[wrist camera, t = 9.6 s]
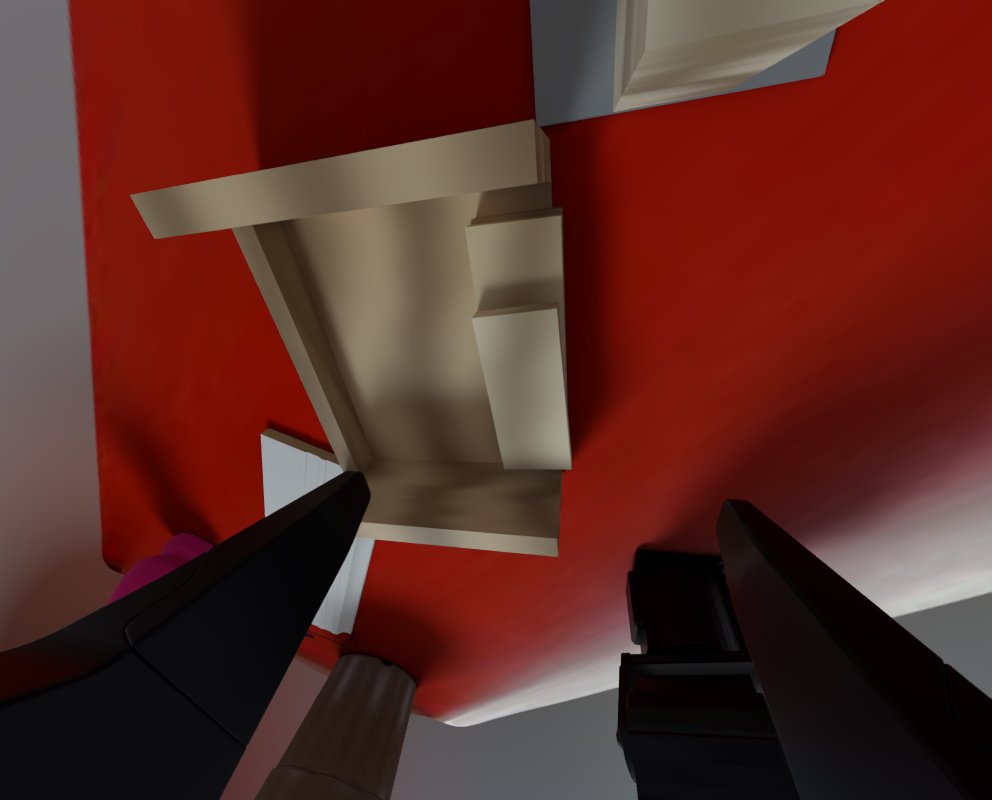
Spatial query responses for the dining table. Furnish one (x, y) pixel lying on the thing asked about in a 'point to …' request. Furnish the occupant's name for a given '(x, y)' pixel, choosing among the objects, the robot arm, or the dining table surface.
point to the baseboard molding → (287, 479)
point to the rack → (392, 320)
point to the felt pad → (591, 61)
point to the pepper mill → (161, 563)
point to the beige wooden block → (712, 43)
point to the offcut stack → (523, 333)
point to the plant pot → (347, 736)
